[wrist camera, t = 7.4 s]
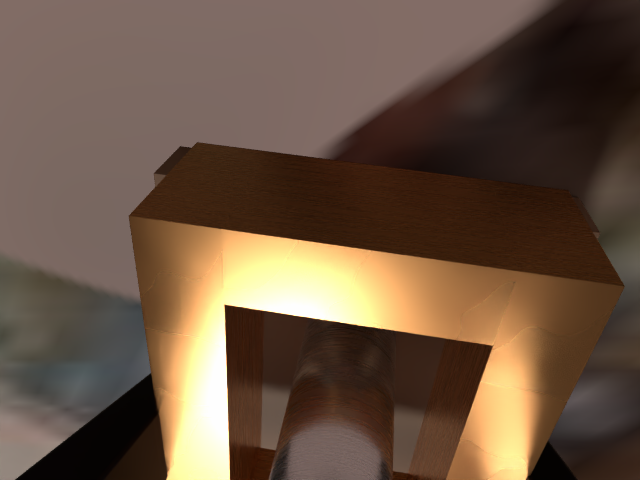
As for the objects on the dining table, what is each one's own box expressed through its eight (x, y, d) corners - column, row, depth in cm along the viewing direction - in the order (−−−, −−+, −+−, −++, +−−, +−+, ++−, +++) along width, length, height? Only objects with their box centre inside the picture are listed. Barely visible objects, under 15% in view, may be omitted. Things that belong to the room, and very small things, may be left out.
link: (447, 510, 13) (455, 625, 11) (215, 468, 13) (179, 570, 11) (568, 190, 8) (624, 286, 6) (196, 142, 9) (128, 215, 6)
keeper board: (435, 563, 20) (437, 608, 19) (208, 521, 21) (195, 561, 19) (578, 197, 11) (600, 232, 10) (180, 146, 12) (153, 173, 11)
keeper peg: (390, 353, 12) (379, 610, 8) (307, 340, 13) (251, 585, 8) (403, 288, 11) (401, 542, 7) (313, 274, 12) (252, 514, 7)
